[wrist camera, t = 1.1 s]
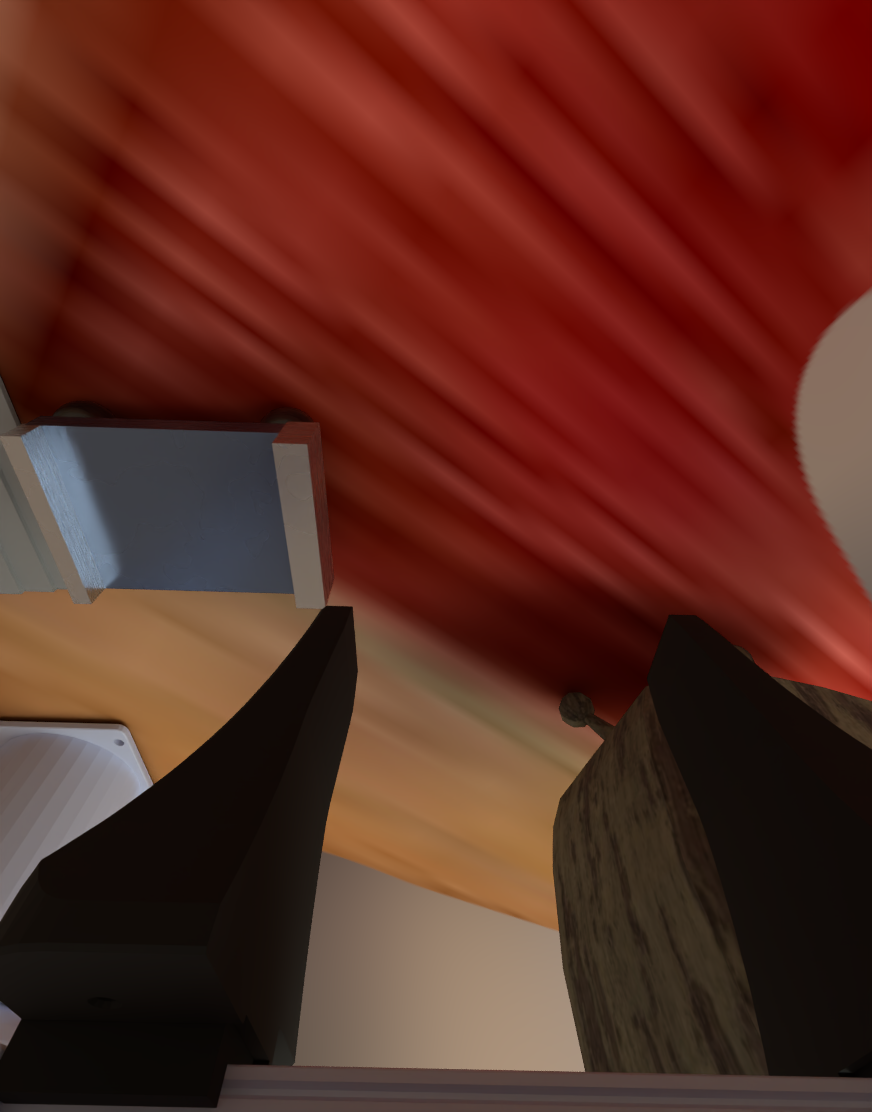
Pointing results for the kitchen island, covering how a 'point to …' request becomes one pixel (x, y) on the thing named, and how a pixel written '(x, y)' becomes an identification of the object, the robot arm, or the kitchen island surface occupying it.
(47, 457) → the trolley
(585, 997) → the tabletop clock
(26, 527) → the loading dock
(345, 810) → the kitchen island surface
